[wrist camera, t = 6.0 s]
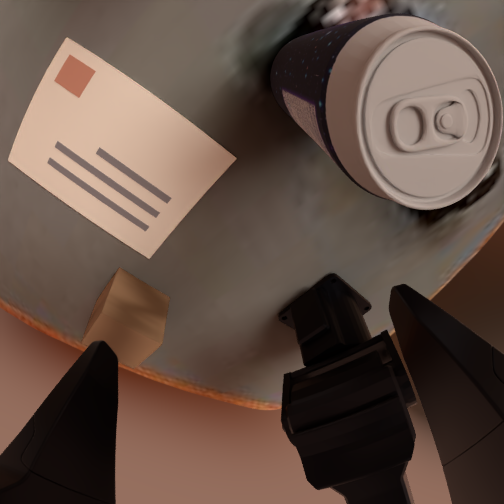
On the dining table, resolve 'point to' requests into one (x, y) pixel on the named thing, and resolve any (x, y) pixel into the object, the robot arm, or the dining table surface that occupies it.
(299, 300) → the robot arm
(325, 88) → the beverage can
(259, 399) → the dining table surface
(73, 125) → the letter
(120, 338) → the walnut block
